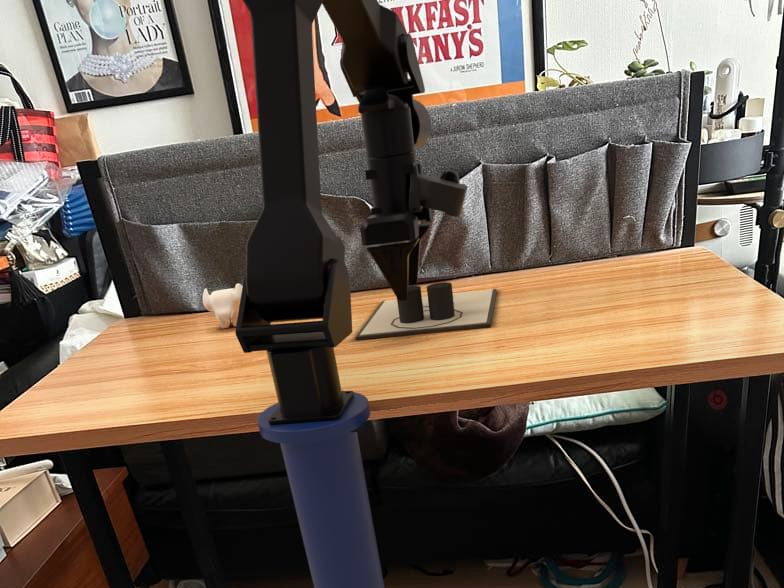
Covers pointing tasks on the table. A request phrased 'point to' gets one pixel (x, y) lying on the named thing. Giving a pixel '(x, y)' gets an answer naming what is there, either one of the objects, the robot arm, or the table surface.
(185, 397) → the table surface
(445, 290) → the eye puck
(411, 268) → the robot arm
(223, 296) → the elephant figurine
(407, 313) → the eye puck
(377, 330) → the sketch board
